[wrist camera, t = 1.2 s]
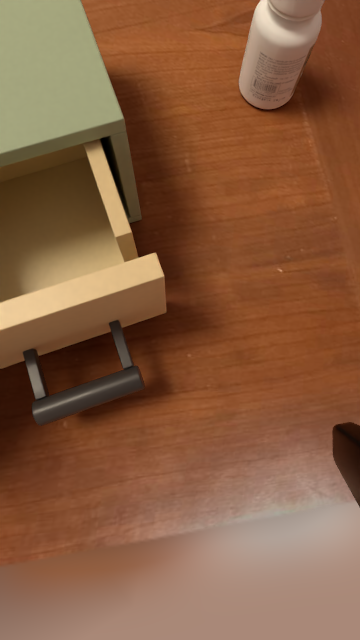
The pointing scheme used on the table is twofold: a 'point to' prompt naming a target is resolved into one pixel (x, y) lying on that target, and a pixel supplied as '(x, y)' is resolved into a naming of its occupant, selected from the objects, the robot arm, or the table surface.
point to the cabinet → (59, 90)
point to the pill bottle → (278, 50)
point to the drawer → (70, 272)
